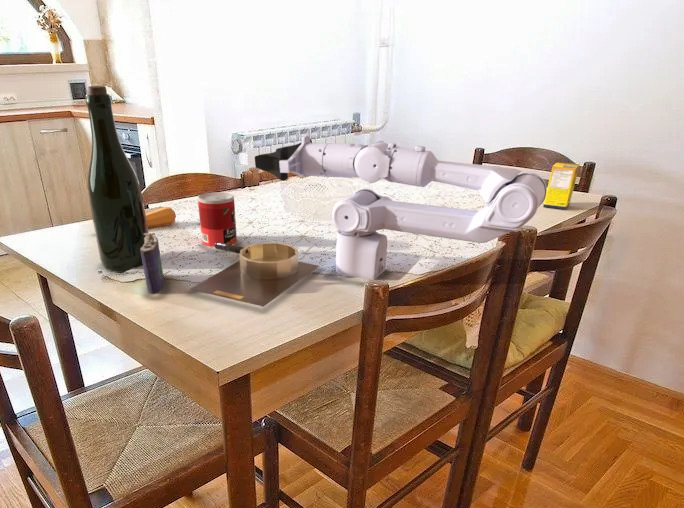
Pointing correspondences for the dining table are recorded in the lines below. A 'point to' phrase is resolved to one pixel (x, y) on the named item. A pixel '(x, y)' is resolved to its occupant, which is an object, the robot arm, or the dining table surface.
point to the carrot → (160, 217)
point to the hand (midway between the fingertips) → (266, 158)
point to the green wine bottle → (113, 190)
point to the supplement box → (561, 185)
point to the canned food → (217, 218)
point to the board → (250, 284)
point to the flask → (152, 264)
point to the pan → (265, 260)
